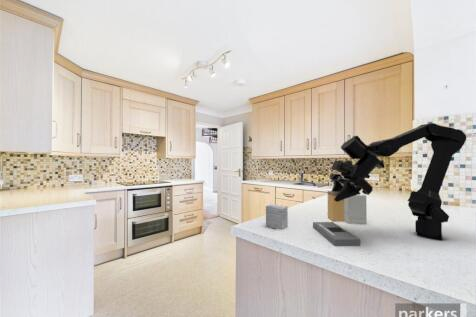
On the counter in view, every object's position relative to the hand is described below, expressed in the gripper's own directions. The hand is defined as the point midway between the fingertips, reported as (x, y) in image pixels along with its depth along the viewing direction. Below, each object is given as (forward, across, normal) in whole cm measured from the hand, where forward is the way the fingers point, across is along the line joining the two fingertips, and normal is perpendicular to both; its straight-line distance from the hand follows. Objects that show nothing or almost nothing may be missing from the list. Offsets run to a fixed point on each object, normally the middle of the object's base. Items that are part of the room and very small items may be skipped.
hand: (332, 199), depth 73 cm
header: (+9, 0, +10) cm, 13 cm away
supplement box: (-2, -16, +22) cm, 27 cm away
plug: (+4, 0, +6) cm, 7 cm away
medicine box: (+22, -11, -3) cm, 25 cm away
